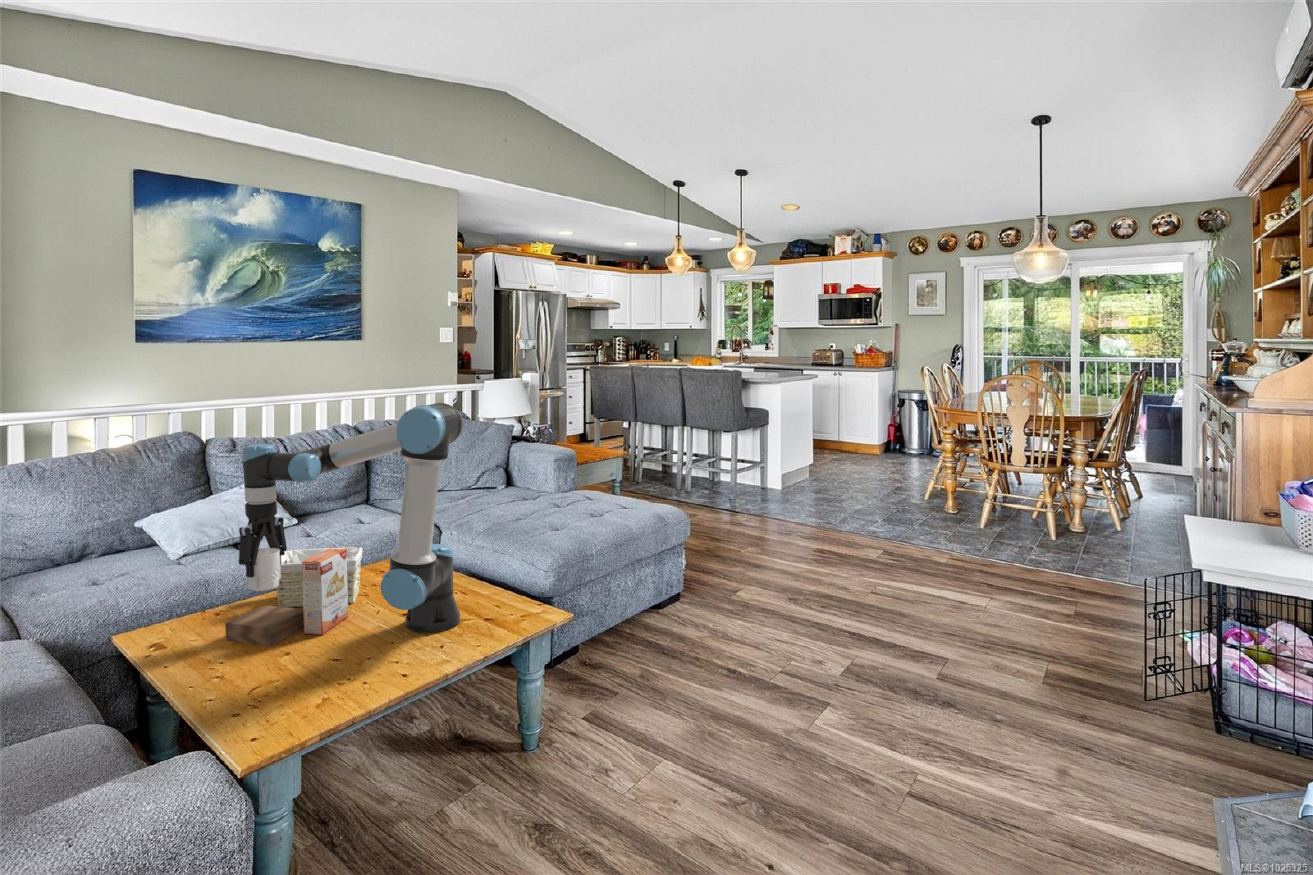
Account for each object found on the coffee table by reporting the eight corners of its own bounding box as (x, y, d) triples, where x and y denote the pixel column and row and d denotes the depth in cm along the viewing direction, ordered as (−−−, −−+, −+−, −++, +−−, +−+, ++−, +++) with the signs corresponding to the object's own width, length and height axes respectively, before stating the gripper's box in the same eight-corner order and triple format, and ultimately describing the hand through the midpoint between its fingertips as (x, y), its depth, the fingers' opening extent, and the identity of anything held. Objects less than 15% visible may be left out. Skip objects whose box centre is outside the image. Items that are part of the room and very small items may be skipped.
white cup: (247, 593, 191) (246, 557, 189) (249, 584, 197) (247, 549, 196) (281, 589, 194) (279, 553, 193) (281, 581, 201) (279, 546, 200)
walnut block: (307, 626, 203) (306, 609, 202) (271, 646, 189) (270, 628, 189) (264, 622, 206) (263, 605, 205) (226, 641, 192) (225, 623, 191)
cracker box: (324, 635, 196) (320, 562, 194) (303, 634, 197) (299, 561, 194) (350, 617, 210) (347, 548, 208) (330, 616, 211) (327, 547, 208)
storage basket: (365, 588, 236) (363, 545, 234) (358, 605, 220) (356, 559, 218) (285, 594, 229) (283, 549, 228) (272, 611, 214) (270, 564, 212)
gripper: (276, 493, 204) (280, 571, 206) (218, 508, 184) (223, 594, 186) (299, 495, 202) (302, 573, 205) (243, 510, 182) (248, 596, 185)
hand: (265, 583), depth 196 cm, fingers closed on white cup, 8 cm apart
